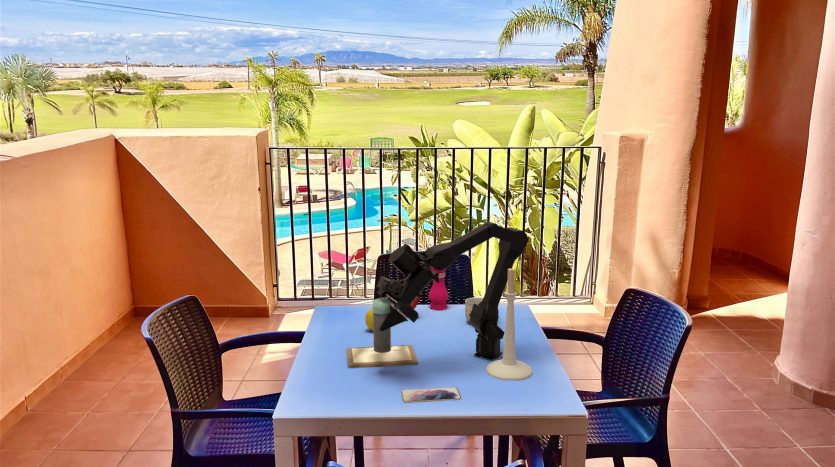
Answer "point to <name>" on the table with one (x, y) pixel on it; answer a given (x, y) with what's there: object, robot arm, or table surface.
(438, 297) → the pepper mill
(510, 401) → the table surface
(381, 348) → the canister
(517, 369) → the candlestick
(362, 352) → the writing board
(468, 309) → the teacup
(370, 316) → the lemon
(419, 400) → the smartphone
